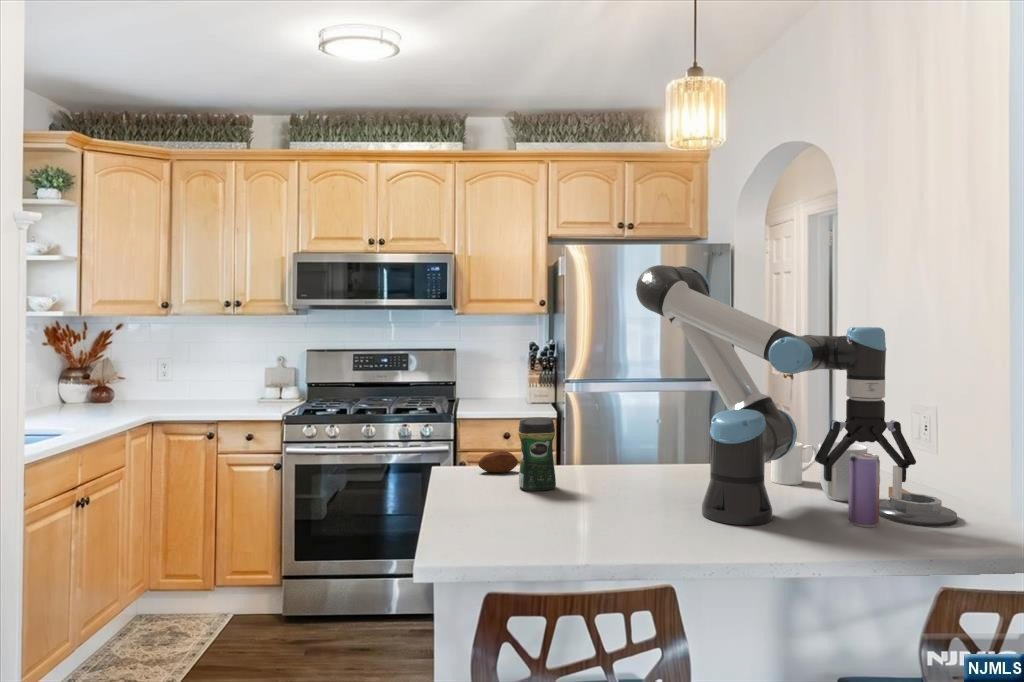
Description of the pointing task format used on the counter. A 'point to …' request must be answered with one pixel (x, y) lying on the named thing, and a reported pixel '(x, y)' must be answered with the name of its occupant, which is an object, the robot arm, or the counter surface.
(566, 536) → the counter surface
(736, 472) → the robot arm
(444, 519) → the counter surface
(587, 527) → the counter surface
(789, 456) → the mug
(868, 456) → the beverage can
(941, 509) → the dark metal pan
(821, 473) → the mug
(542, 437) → the coffee jar
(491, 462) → the potato
